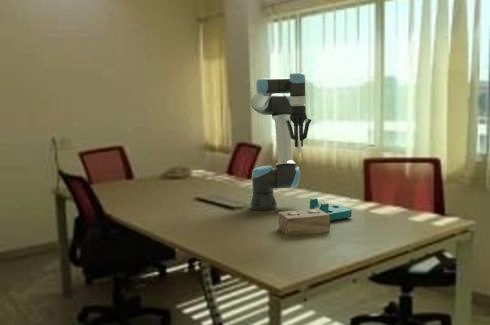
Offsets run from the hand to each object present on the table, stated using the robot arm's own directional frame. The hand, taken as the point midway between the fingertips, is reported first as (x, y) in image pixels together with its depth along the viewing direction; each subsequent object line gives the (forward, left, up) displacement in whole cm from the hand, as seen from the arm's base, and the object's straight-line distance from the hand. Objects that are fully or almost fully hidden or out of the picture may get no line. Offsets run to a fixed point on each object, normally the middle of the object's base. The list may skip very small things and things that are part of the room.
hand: (299, 153), depth 259 cm
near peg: (+15, -9, -34) cm, 38 cm away
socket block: (+15, -4, -34) cm, 38 cm away
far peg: (+15, +1, -34) cm, 37 cm away
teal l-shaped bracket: (0, +16, -35) cm, 38 cm away
